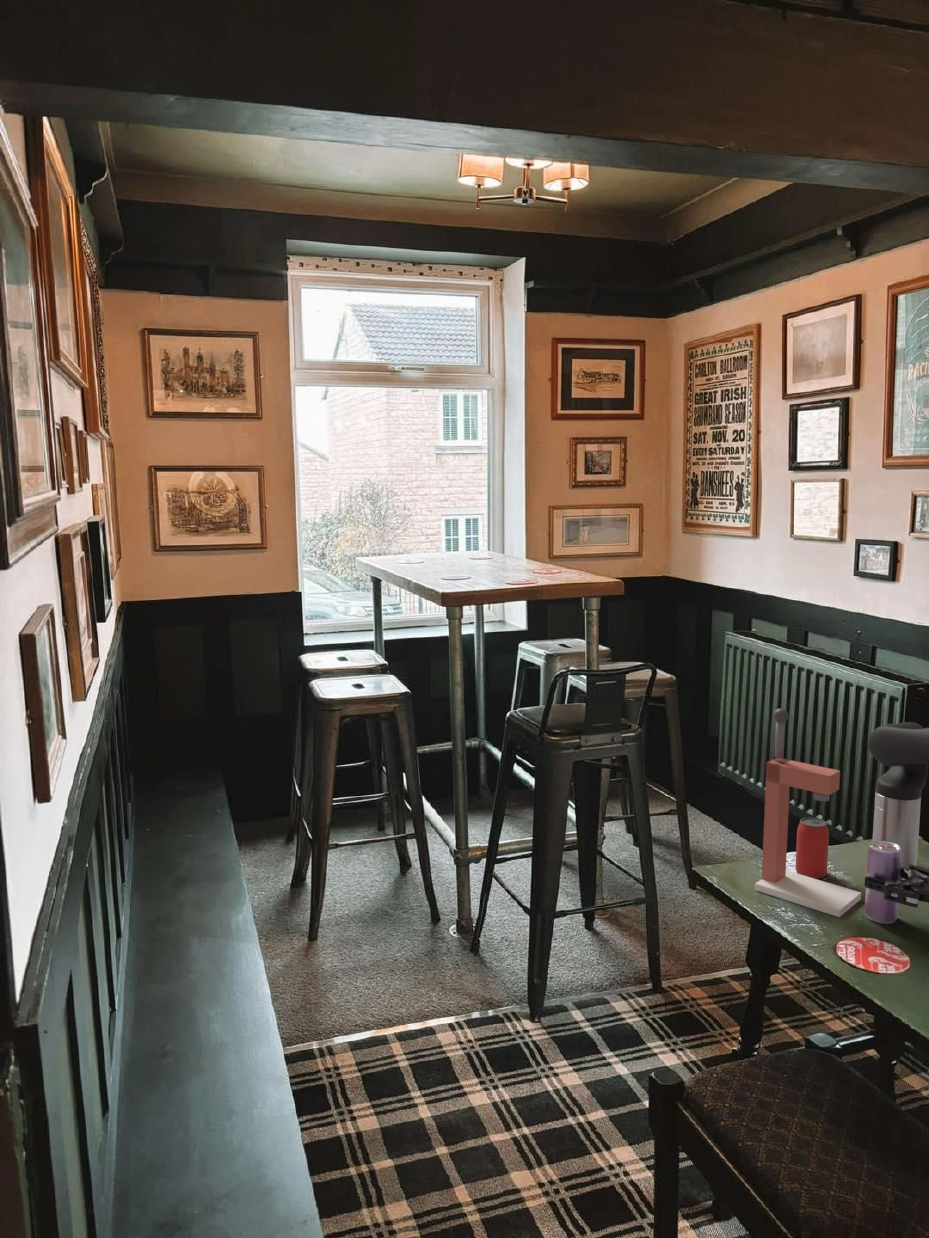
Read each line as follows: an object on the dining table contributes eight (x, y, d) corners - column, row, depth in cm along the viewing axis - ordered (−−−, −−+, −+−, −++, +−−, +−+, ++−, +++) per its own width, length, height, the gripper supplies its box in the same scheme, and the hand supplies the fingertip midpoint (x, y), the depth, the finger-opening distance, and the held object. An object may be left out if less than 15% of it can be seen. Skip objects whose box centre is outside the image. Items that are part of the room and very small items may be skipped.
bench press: (778, 874, 201) (785, 702, 195) (860, 899, 188) (871, 717, 183) (754, 889, 193) (762, 712, 188) (839, 917, 181) (849, 727, 175)
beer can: (832, 874, 201) (835, 822, 199) (816, 882, 197) (818, 829, 195) (806, 864, 206) (808, 814, 204) (789, 872, 202) (791, 820, 200)
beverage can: (900, 925, 177) (905, 852, 175) (868, 923, 178) (872, 850, 176) (892, 912, 183) (897, 841, 180) (861, 909, 184) (865, 839, 182)
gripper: (975, 869, 174) (887, 846, 185) (951, 892, 164) (860, 867, 175) (972, 905, 175) (885, 881, 186) (948, 931, 165) (858, 903, 176)
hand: (873, 874), depth 180 cm, fingers open, 8 cm apart
